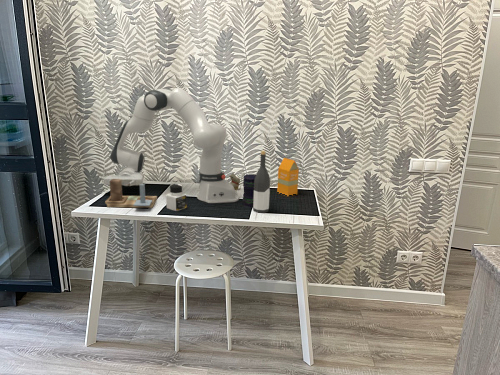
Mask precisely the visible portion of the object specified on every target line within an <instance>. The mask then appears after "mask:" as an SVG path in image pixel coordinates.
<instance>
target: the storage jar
mask: <svg viewBox="0 0 500 375" xmlns="http://www.w3.org/2000/svg"><path fill="white" fill-rule="evenodd" d="M256 174H257V173H256ZM256 174H255V173H253V174H252V173H248V174H245V175H243V180H242V183H243V184H242V186H243V193H242V206H244V207H247V208H253V203H254V180H255V176H256Z"/></svg>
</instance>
